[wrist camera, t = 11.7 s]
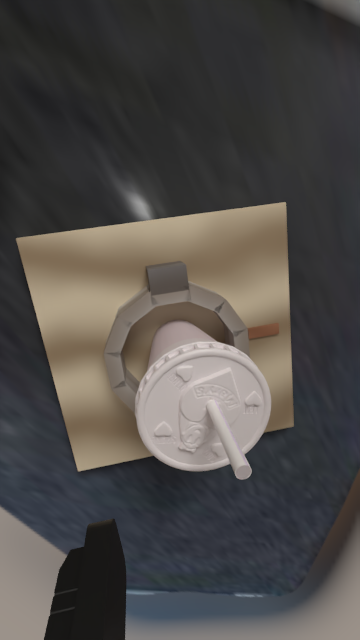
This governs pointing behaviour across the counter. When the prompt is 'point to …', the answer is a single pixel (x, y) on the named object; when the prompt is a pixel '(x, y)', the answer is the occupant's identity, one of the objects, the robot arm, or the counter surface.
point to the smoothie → (200, 401)
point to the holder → (156, 312)
